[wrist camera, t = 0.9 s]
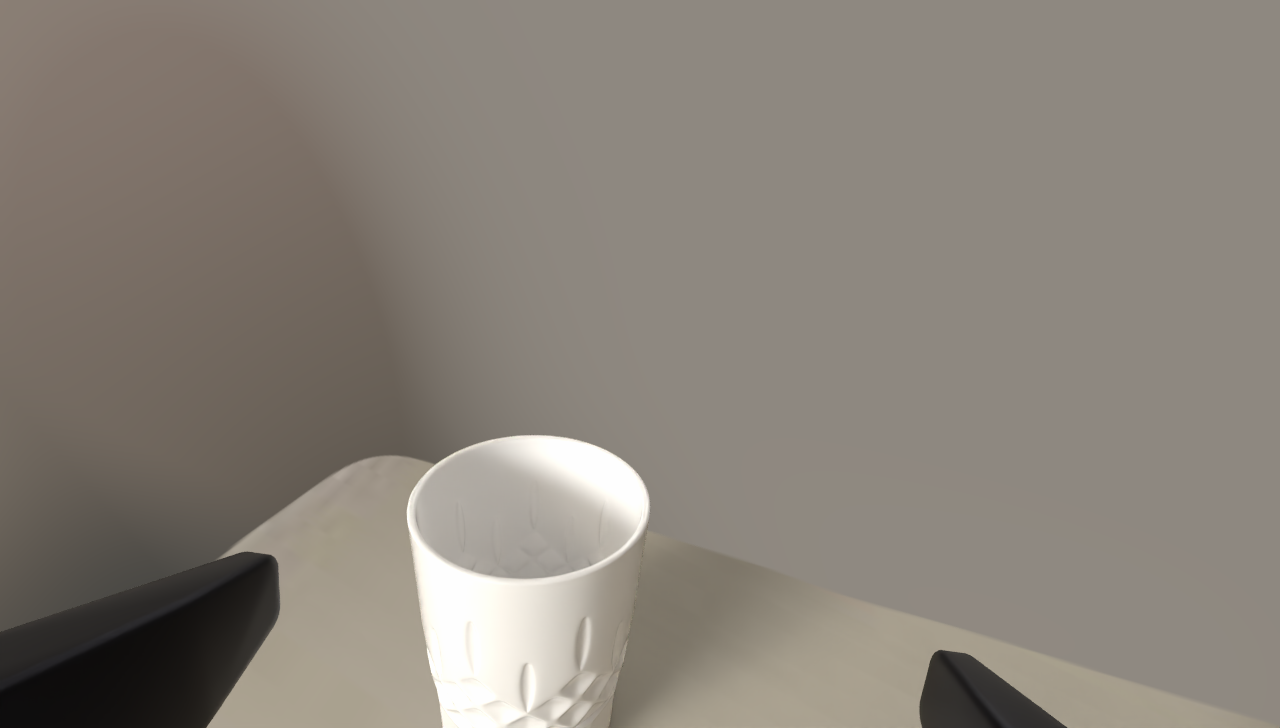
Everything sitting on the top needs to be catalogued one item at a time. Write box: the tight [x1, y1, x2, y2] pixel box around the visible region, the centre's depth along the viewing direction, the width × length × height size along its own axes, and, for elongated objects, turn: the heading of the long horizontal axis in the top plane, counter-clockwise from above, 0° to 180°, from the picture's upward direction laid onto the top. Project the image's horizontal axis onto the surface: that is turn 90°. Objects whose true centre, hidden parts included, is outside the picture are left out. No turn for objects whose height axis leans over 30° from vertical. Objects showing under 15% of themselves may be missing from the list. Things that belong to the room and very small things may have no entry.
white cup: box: [407, 435, 650, 728], centre depth 23 cm, size 8×8×10 cm
